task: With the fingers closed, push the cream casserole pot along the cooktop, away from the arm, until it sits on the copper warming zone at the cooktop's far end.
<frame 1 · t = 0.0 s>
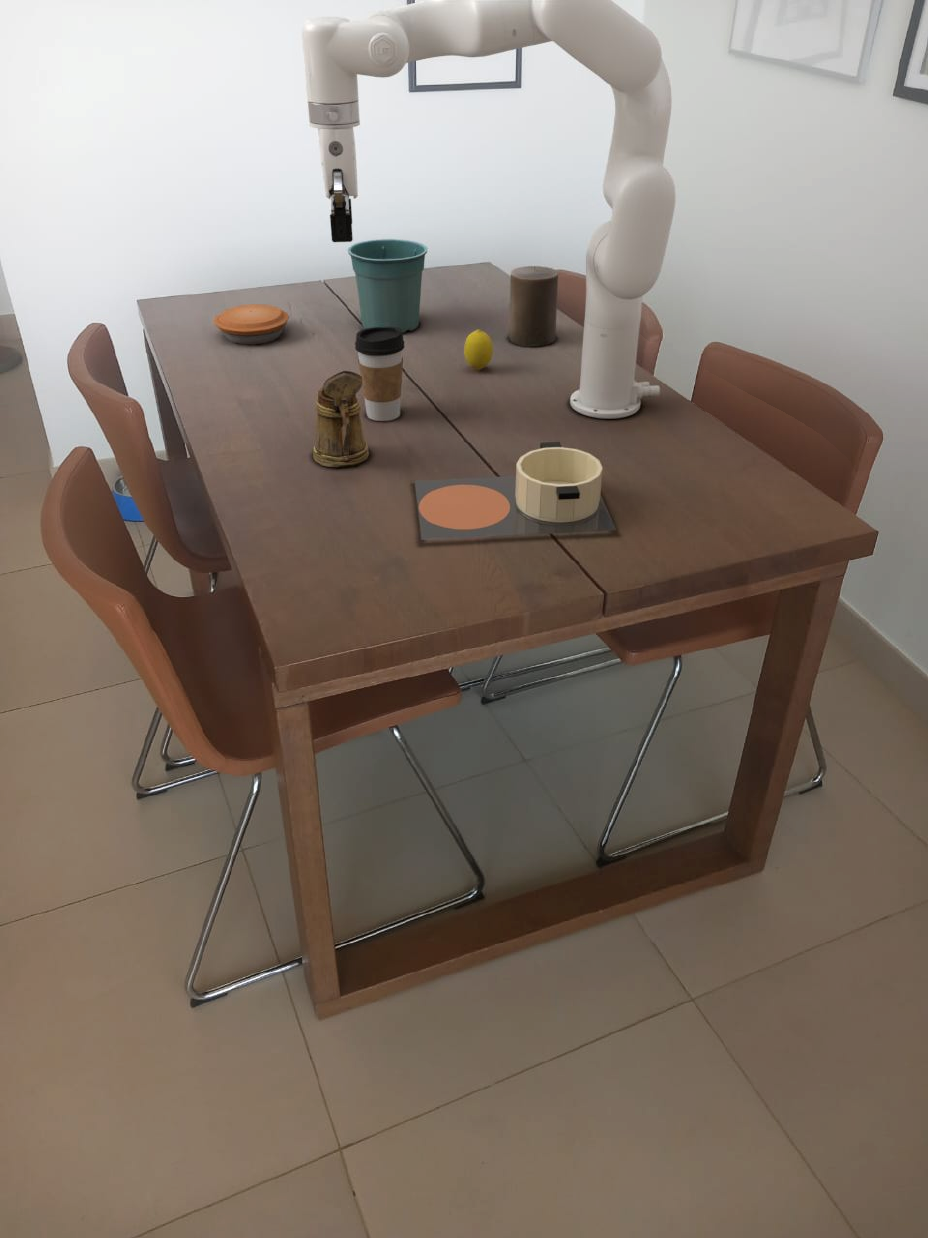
hand: (342, 232, 159), 31 cm above the table, tool pointing down, fingers open, 9 cm apart
pot: (557, 501, 149), point 1 cm above the table, touching cooktop
pie: (254, 335, 210), on the table
pillar candle: (531, 339, 208), on the table
wooden mug: (343, 463, 162), on the table
lemon: (478, 370, 194), on the table
cooktop: (510, 508, 149), on the table
coffee cup: (383, 415, 177), on the table
flower pot: (391, 326, 215), on the table
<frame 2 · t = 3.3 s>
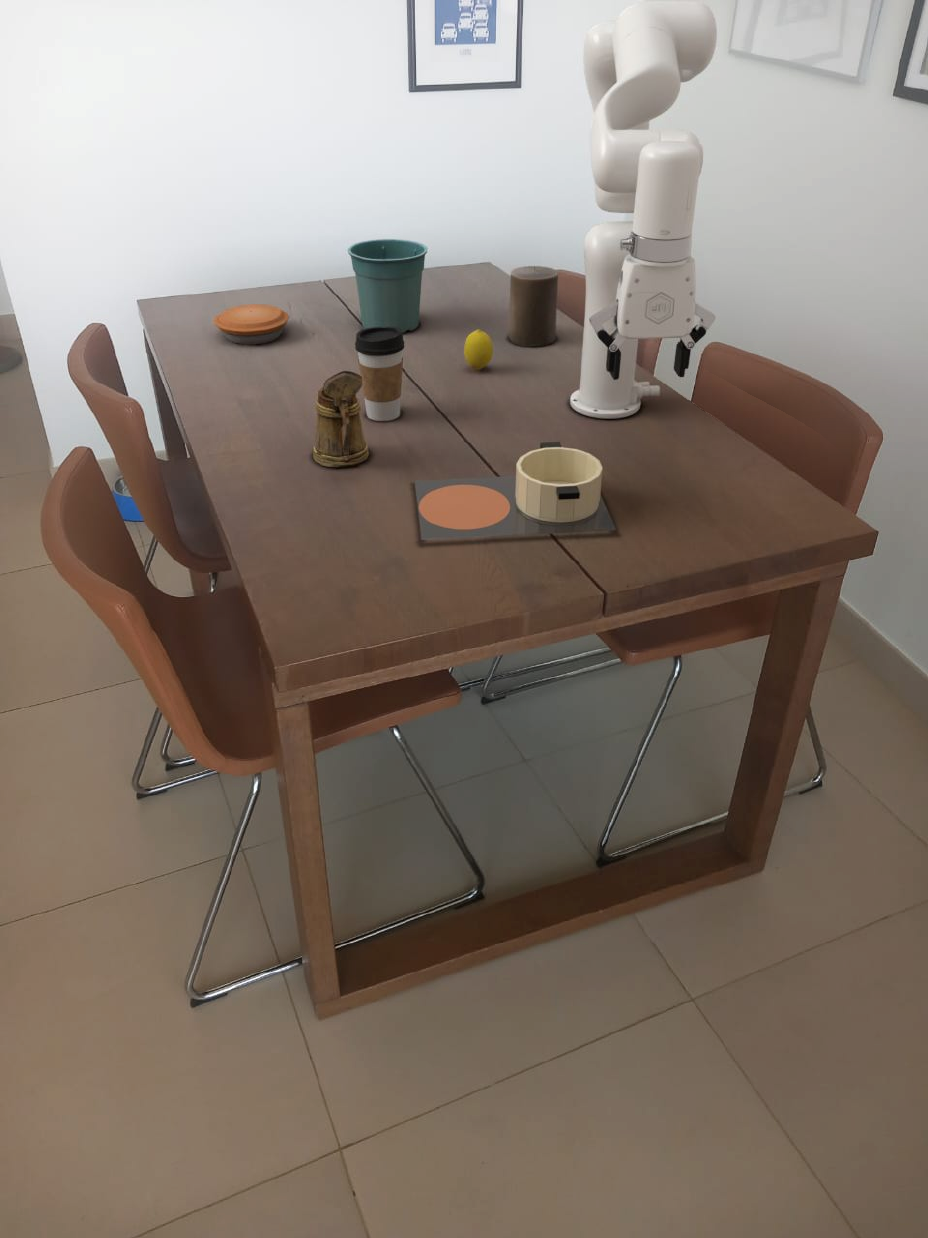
hand: (646, 374, 139), 20 cm above the table, tool pointing down, fingers open, 8 cm apart
nothing on the table moved.
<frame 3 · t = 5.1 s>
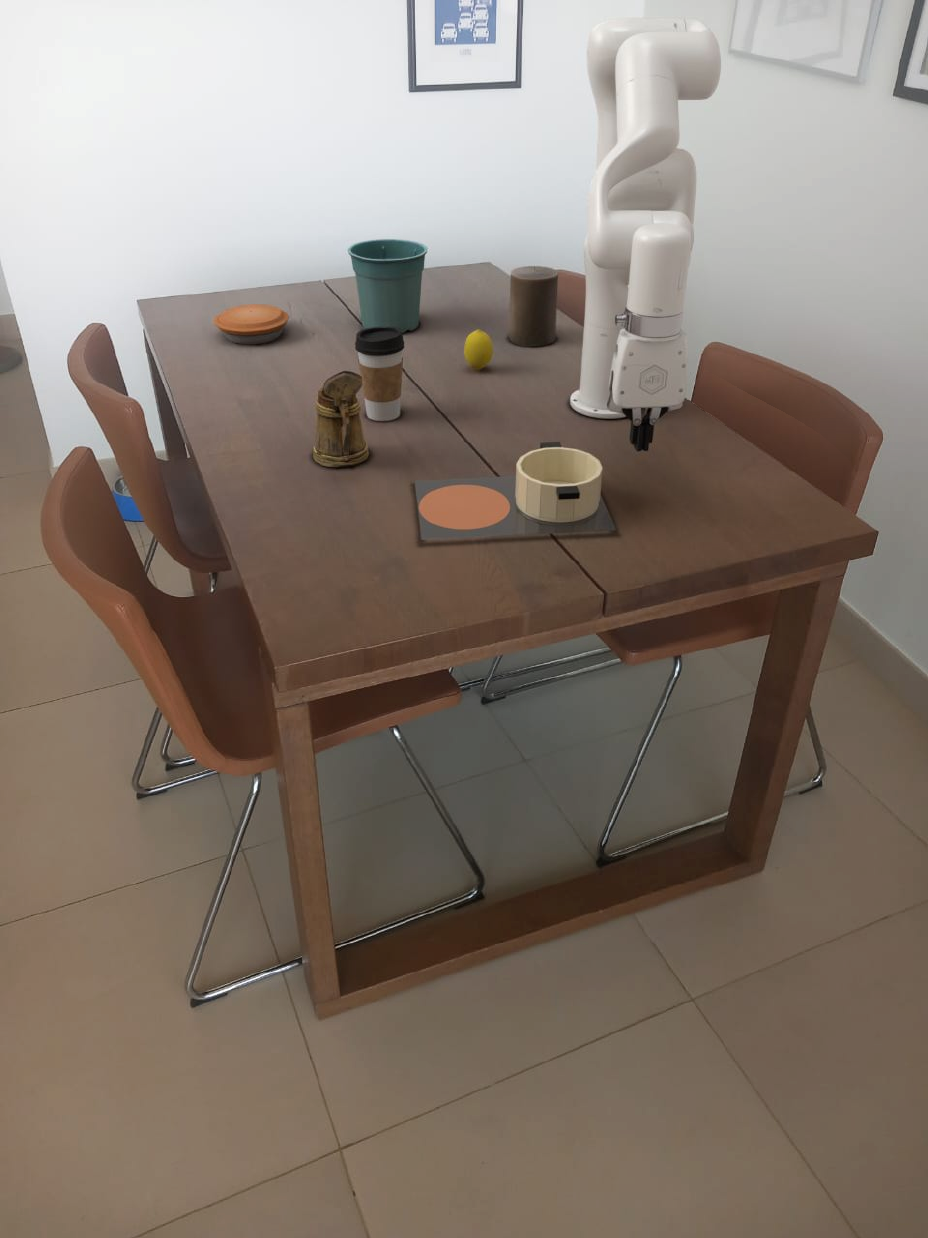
hand: (640, 447, 145), 9 cm above the table, tool pointing down, fingers closed
nothing on the table moved.
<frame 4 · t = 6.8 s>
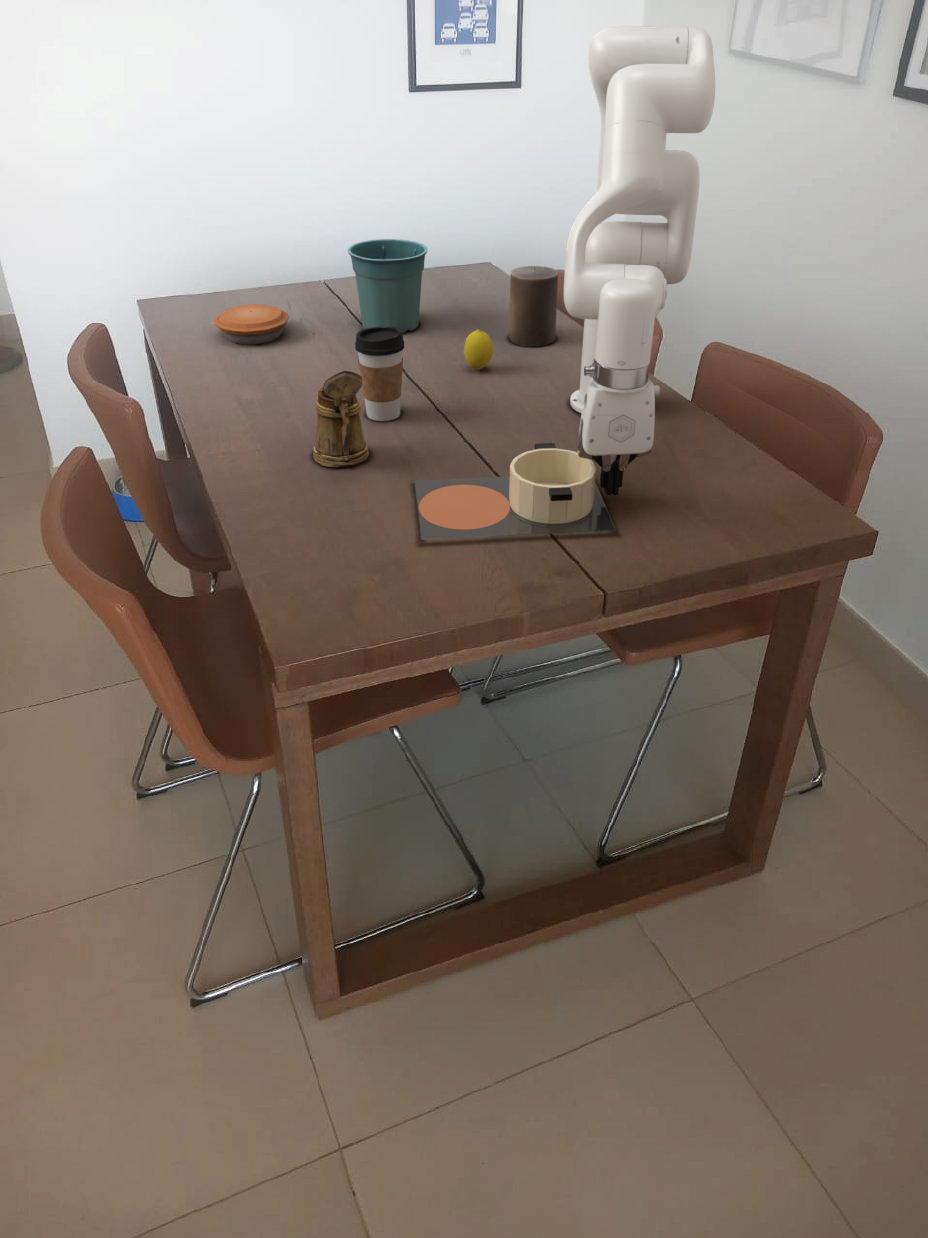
hand: (610, 491, 149), 3 cm above the table, tool pointing down, fingers closed
pot: (550, 503, 149), point 1 cm above the table, touching gripper, cooktop
everything else where it was.
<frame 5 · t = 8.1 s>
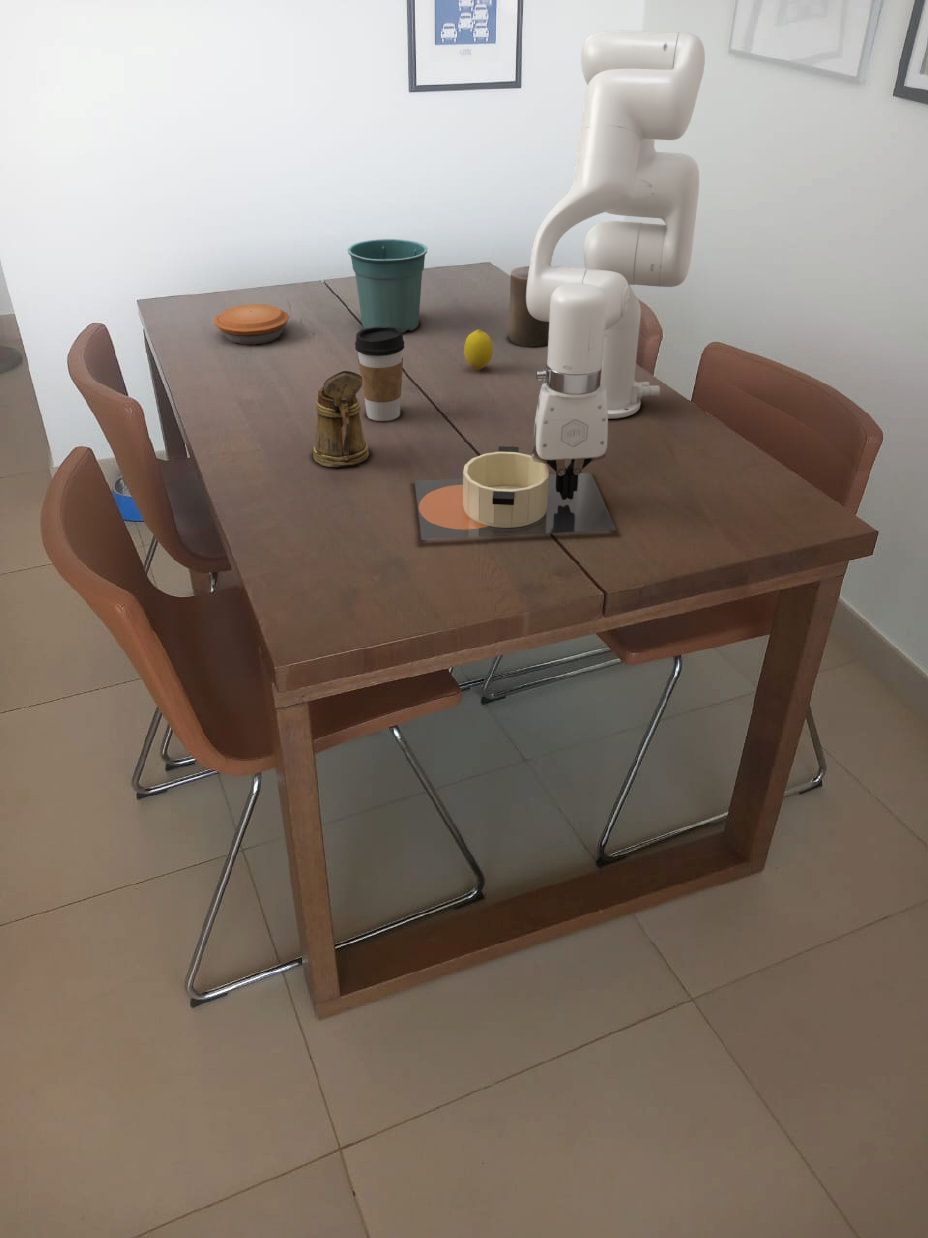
hand: (565, 495, 149), 2 cm above the table, tool pointing down, fingers closed
pot: (505, 506, 148), point 1 cm above the table, touching cooktop
everything else where it was.
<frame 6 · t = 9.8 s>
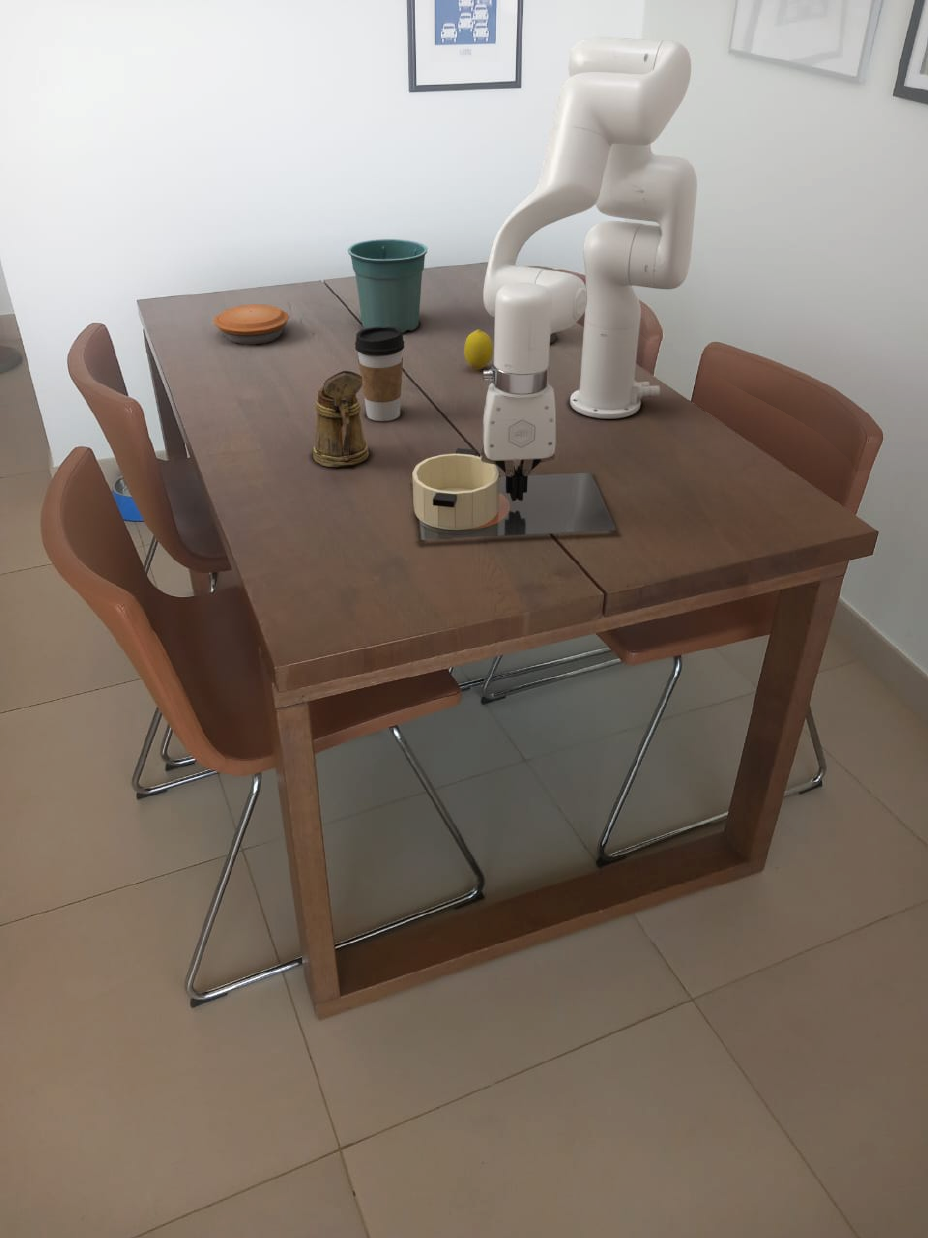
hand: (515, 496, 147), 2 cm above the table, tool pointing down, fingers closed
pot: (456, 509, 148), point 1 cm above the table, touching gripper, cooktop
everything else where it was.
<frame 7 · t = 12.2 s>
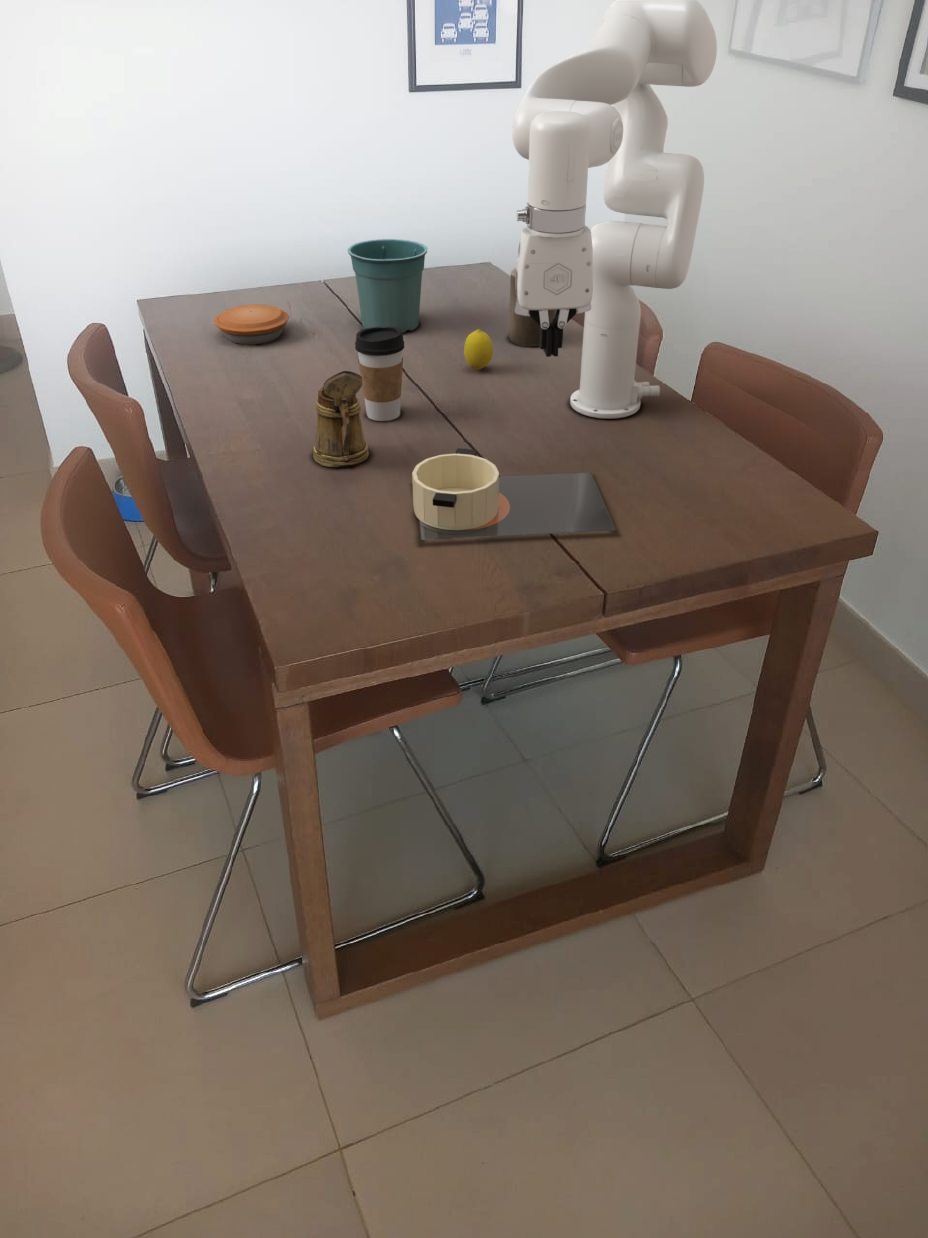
hand: (550, 352, 141), 22 cm above the table, tool pointing down, fingers closed
pot: (455, 509, 148), point 1 cm above the table, touching cooktop
everything else where it was.
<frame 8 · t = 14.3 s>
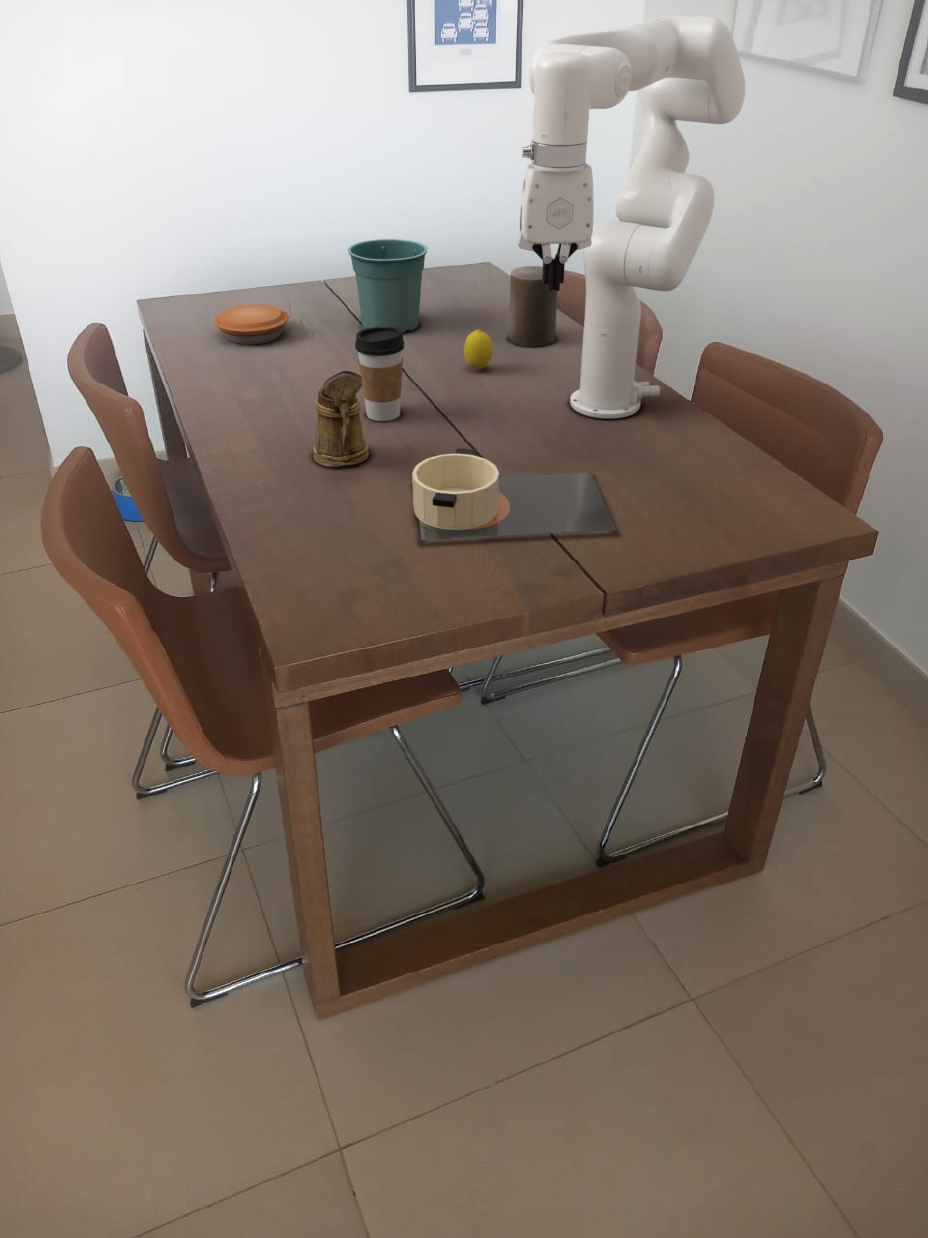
hand: (552, 287, 149), 27 cm above the table, tool pointing down, fingers closed
nothing on the table moved.
at the end: pot 1.5 cm from the target spot on the cooktop, point 0.8 cm above the cooktop's base; pot tilted 0°; pot moved 15.4 cm from its start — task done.
